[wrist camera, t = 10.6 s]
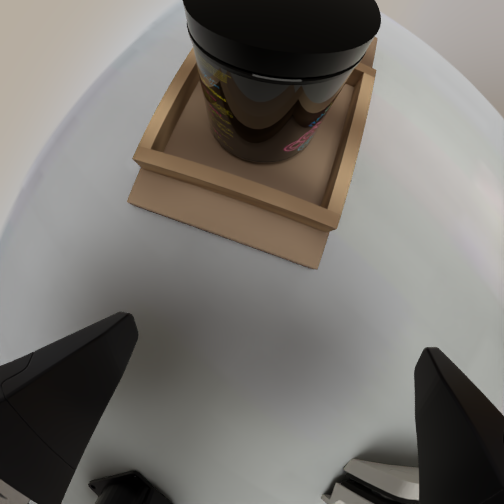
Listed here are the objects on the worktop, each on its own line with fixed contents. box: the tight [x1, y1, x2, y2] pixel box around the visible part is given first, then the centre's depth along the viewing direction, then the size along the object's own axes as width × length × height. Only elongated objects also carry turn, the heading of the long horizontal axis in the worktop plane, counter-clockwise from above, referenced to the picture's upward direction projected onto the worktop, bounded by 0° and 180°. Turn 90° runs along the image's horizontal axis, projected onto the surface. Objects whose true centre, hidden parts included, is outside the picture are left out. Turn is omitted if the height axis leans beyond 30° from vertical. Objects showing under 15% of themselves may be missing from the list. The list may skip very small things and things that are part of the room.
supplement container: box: [183, 0, 381, 163], centre depth 12 cm, size 7×7×10 cm
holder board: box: [127, 37, 377, 269], centre depth 17 cm, size 20×12×3 cm, turn 160°
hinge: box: [321, 459, 419, 504], centre depth 14 cm, size 17×5×10 cm, turn 63°
